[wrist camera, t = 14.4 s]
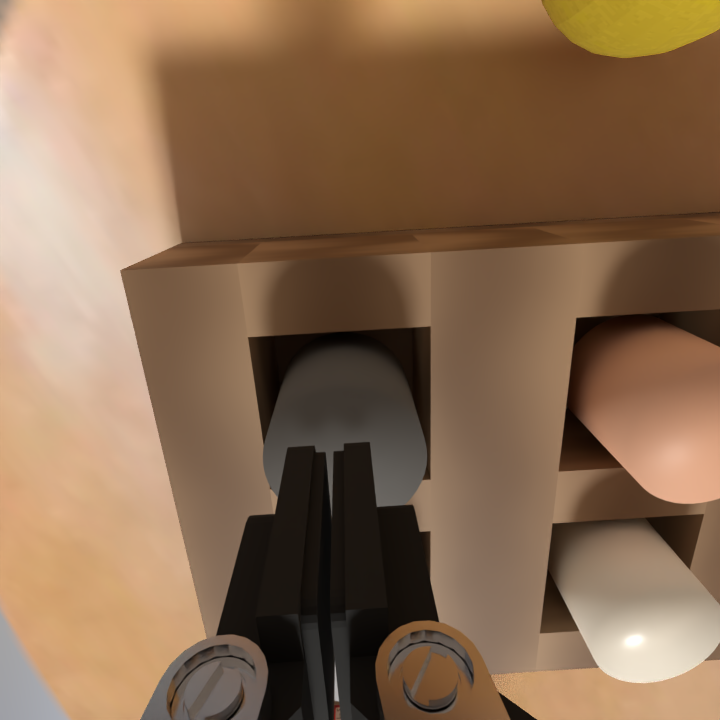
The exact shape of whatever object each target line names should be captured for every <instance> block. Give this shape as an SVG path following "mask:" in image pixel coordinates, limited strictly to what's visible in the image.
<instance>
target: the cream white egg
mask: <svg viewBox="0 0 720 720" xmlns="http://www.w3.org/2000/svg"><path fill="white" fill-rule="evenodd" d="M547 568H548V570H549V572H550V574H551V576H552V578H553V580H554V582H555V584H556V586H557V588H558V590H559V591H560V593H561V595H562V597H563V599H564V601H565V603H566V605H567V607H568V609H569V611H570V613H571V615H572V617H573V619H574V621H575V623H576V625H577V627H578V629H579V631H580V633H581V635H582V637H583V639H584V641H585V642H586V644H587V646H588V648H589V650H590V652H591V654H592V656H593V658H594V660H595V662H596V664H597V665H598V666H599V668H600V669H601V670H602V671H604V672H605V673H606V674H608V675H609V676H611V677H614V678H616V679H619V680H622V681H626V682H633V683H649V682H657V681H662V680H666V679H670V678H673V677H676V676H678V675H681V674H683V673H685V672H687V671H689V670H691V669H693V668H694V667H696V666H697V665H699V664H700V663H702V662H703V661H704V660H705V659H706V658H708V657H709V656H710V654H711V653H712V652H713V651H714V650H715V649H716V647H717V646H718V644H719V643H720V605H719V603H718V602H717V601H716V600H715V599H714V597H713V596H712V595H711V594H710V593H709V592H708V590H707V589H706V588H705V587H704V586H703V585H702V584H701V582H700V581H699V580H698V579H697V578H696V577H695V575H694V574H693V573H692V572H691V571H690V570H689V568H688V567H687V566H686V565H685V564H684V563H683V562H682V560H681V559H680V558H679V557H678V556H677V555H676V553H675V552H674V551H673V550H672V549H671V548H670V546H669V545H668V544H667V543H666V542H665V541H664V540H663V538H662V537H661V536H660V535H659V534H658V533H657V531H656V530H655V529H654V528H653V527H652V526H651V524H650V523H649V522H648V521H647V520H646V519H645V518H631V519H615V520H599V521H583V522H567V523H552V532H551V541H550V549H549V558H548V566H547Z"/></svg>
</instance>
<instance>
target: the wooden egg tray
mask: <svg viewBox="0 0 720 720" xmlns="http://www.w3.org/2000/svg"><path fill="white" fill-rule="evenodd" d="M120 271H121V276H122V280H123V284H124V288H125V293H126V297H127V301H128V305H129V310H130V314H131V318H132V322H133V327H134V331H135V335H136V339H137V344H138V348H139V352H140V356H141V361H142V365H143V369H144V373H145V378H146V382H147V386H148V390H149V395H150V399H151V403H152V407H153V412H154V416H155V420H156V424H157V429H158V433H159V437H160V441H161V446H162V450H163V454H164V458H165V463H166V467H167V471H168V475H169V480H170V484H171V488H172V492H173V497H174V501H175V505H176V509H177V514H178V518H179V522H180V526H181V531H182V535H183V539H184V543H185V548H186V552H187V556H188V560H189V565H190V569H191V573H192V577H193V582H194V586H195V590H196V594H197V599H198V603H199V607H200V611H201V616H202V620H203V624H204V628H205V633H206V637H207V639H208V638H211V637H214V636H216V633H217V630H218V626H219V622H220V618H221V615H222V611H223V607H224V603H225V599H226V596H227V592H228V588H229V584H230V581H231V577H232V573H233V569H234V566H235V562H236V558H237V554H238V550H239V547H240V543H241V539H242V535H243V532H244V528H245V524H246V521H247V519H248V517H249V516H250V515H265V514H275V510H276V505H277V499H278V497H277V496H276V495H275V493H274V492H273V491H272V489H271V487H270V485H269V483H268V481H267V478H266V476H265V472H264V467H263V447H264V443H265V439H266V436H267V432H268V429H269V425H270V422H271V419H272V415H273V412H274V408H275V405H276V402H277V398H278V395H279V392H280V388H281V385H282V381H283V378H284V375H285V372H286V369H287V367H288V365H289V363H290V361H291V360H292V358H293V357H294V356H295V354H296V353H297V352H298V351H299V350H300V349H301V348H302V347H303V346H305V345H306V344H307V343H309V342H311V341H312V340H314V339H316V338H318V337H321V336H323V335H327V334H331V333H337V332H353V333H359V334H363V335H367V336H369V337H372V338H374V339H376V340H378V341H380V342H381V343H383V344H384V345H385V346H387V347H388V348H389V349H390V350H391V351H392V352H393V353H394V354H395V355H396V357H397V358H398V359H399V361H400V363H401V365H402V366H403V369H404V372H405V374H406V378H407V381H408V385H409V388H410V391H411V395H412V398H413V401H414V405H415V408H416V411H417V415H418V418H419V422H420V425H421V428H422V432H423V435H424V439H425V443H426V447H427V465H426V470H425V474H424V477H423V479H422V482H421V484H420V486H419V487H418V489H417V491H416V492H415V494H414V495H413V496H412V498H411V499H410V500H409V501H408V502H407V503H406V504H405V505H412V504H413V506H414V509H415V512H416V517H417V521H418V526H419V531H420V535H421V540H422V544H423V549H424V554H425V558H426V563H427V567H428V572H429V577H430V581H431V586H432V590H433V595H434V600H435V604H436V609H437V613H438V618H439V622H440V623H445V624H447V625H449V626H451V627H453V628H455V629H457V630H459V631H461V632H462V633H463V634H464V635H465V636H466V637H467V638H468V639H470V640H471V641H472V642H473V643H474V645H475V647H476V648H477V650H478V651H479V653H480V654H481V656H482V658H483V660H484V662H485V664H486V667H487V669H488V671H489V673H490V675H491V674H506V673H522V672H537V671H552V670H568V669H583V668H598V667H599V666H598V665H597V664H596V662H595V660H594V658H593V656H592V654H591V652H590V650H589V648H588V646H587V644H586V642H585V641H584V639H583V637H582V635H581V633H580V631H579V629H578V627H577V625H576V623H575V621H574V619H573V617H572V615H571V613H570V611H569V609H568V607H567V605H566V603H565V601H564V599H563V597H562V595H561V593H560V591H559V590H558V588H557V586H556V584H555V582H554V580H553V578H552V576H551V574H550V572H549V570H548V568H547V566H548V558H549V549H550V541H551V532H552V523H567V522H583V521H599V520H615V519H631V518H645V519H646V520H647V521H648V522H649V523H650V524H651V526H652V527H653V528H654V529H655V530H656V531H657V533H658V534H659V535H660V536H661V537H662V538H663V540H664V541H665V542H666V543H667V544H668V545H669V546H670V548H671V549H672V550H673V551H674V552H675V553H676V555H677V556H678V557H679V558H680V559H681V560H682V562H683V563H684V564H685V565H686V566H687V567H688V568H689V570H690V571H691V572H692V573H693V574H694V575H695V577H696V578H697V579H698V580H699V581H700V582H701V584H702V585H703V586H704V587H705V588H706V589H707V590H708V592H709V593H710V594H711V595H712V596H713V597H714V599H715V600H716V601H717V602H718V603H719V605H720V498H719V499H716V500H713V501H708V502H703V503H695V504H682V503H673V502H669V501H665V500H663V499H660V498H657V497H656V496H654V495H652V494H650V493H649V492H648V491H646V490H645V489H644V488H643V487H642V486H641V485H640V484H639V483H638V482H637V481H636V480H635V479H634V478H633V477H632V476H631V474H630V473H629V472H628V471H627V470H626V469H625V468H624V467H623V466H622V465H621V464H620V463H619V462H618V461H617V460H616V459H615V457H614V456H613V455H612V454H611V453H610V452H609V451H608V450H607V449H606V448H605V447H604V446H603V445H602V444H601V443H600V441H599V440H598V439H597V438H596V437H595V436H594V435H593V434H592V433H591V432H590V431H589V430H588V429H587V428H586V427H585V426H584V424H583V423H582V422H581V421H580V420H579V419H578V418H577V417H576V416H575V415H574V414H573V413H572V412H571V410H570V409H569V408H568V406H567V405H566V403H567V394H568V386H569V377H570V368H571V360H572V351H573V347H574V346H575V345H576V343H577V342H578V341H579V340H580V339H581V338H582V337H583V336H584V335H585V334H586V333H587V332H589V331H590V330H591V329H592V328H594V327H596V326H597V325H599V324H601V323H603V322H605V321H607V320H609V319H612V318H614V317H618V316H622V315H630V314H644V315H650V316H653V317H657V318H659V319H661V320H663V321H665V322H667V323H670V324H672V325H674V326H676V327H678V328H680V329H682V330H684V331H687V332H689V333H691V334H693V335H695V336H697V337H699V338H701V339H704V340H706V341H708V342H710V343H712V344H714V345H716V346H718V347H720V212H712V213H695V214H678V215H660V216H643V217H626V218H608V219H591V220H574V221H557V222H539V223H522V224H505V225H487V226H470V227H453V228H435V229H418V230H401V231H383V232H366V233H349V234H331V235H314V236H297V237H279V238H262V239H245V240H227V241H210V242H193V243H181V244H179V245H176V246H174V247H172V248H170V249H167V250H165V251H163V252H161V253H158V254H156V255H154V256H152V257H149V258H147V259H145V260H143V261H140V262H138V263H136V264H134V265H131V266H129V267H127V268H125V269H122V270H120ZM706 660H720V643H719V644H718V646H717V647H716V649H715V650H714V651H713V652H712V653H711V654H710V656H709V657H708V658H706V659H705V660H704V661H706Z"/></svg>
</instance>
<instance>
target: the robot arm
mask: <svg viewBox="0 0 720 720" xmlns="http://www.w3.org/2000/svg"><path fill="white" fill-rule="evenodd" d="M335 667H336V677H337V687H338V696H339V706H340V716H341V720H537V719H535V718H534V717H532V716H531V715H530V714H528V713H527V712H525V711H524V710H523V709H521V708H520V707H519V706H517V705H516V704H514V703H513V702H512V701H510V700H509V699H507V698H506V697H505V696H503V695H502V694H501V693H499V692H498V691H497V689H496V687H495V684H494V682H493V680H492V678H491V676H490V673H489V671H488V669H487V667H486V664H485V662H484V660H483V658H482V656H481V654H480V653H479V651H478V650H477V648H476V647H475V645H474V643H473V642H472V641H471V640H470V639H468V638H467V637H466V636H465V635H464V634H463V633H462V632H461V631H459V630H457V629H455V628H453V627H451V626H449V625H447V624H445V623H440V622H439V618H438V613H437V609H436V604H435V600H434V595H433V590H432V586H431V581H430V577H429V572H428V567H427V563H426V558H425V554H424V549H423V544H422V540H421V535H420V531H419V526H418V521H417V517H416V512H415V509H414V506H413V504H412V505H398V506H383V507H377V504H376V494H375V485H374V476H373V466H372V457H371V448H370V442H358V443H344V451H334V452H333V490H332V515H331V504H330V493H329V482H328V471H327V461H326V453H325V452H316V449H315V445H312V446H297V447H288V448H287V452H286V457H285V462H284V468H283V473H282V478H281V484H280V489H279V494H278V499H277V505H276V510H275V514H265V515H250V516H249V517H248V519H247V521H246V524H245V528H244V532H243V535H242V539H241V543H240V547H239V550H238V554H237V558H236V562H235V566H234V569H233V573H232V577H231V581H230V584H229V588H228V592H227V596H226V599H225V603H224V607H223V611H222V615H221V618H220V622H219V626H218V630H217V633H216V636H214V637H211V638H208V639H205V640H202V641H200V642H198V643H196V644H195V645H193V646H191V647H190V648H188V649H187V650H185V651H184V652H183V653H182V654H181V655H180V656H179V657H177V658H176V659H175V660H174V661H173V662H172V663H171V664H170V666H169V667H168V669H167V670H166V672H165V673H164V675H163V676H162V678H161V679H160V681H159V683H158V685H157V687H156V689H155V691H154V693H153V695H152V697H151V699H150V701H149V703H148V705H147V707H146V709H145V711H144V713H143V715H142V717H141V719H140V720H334V695H335Z"/></svg>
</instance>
